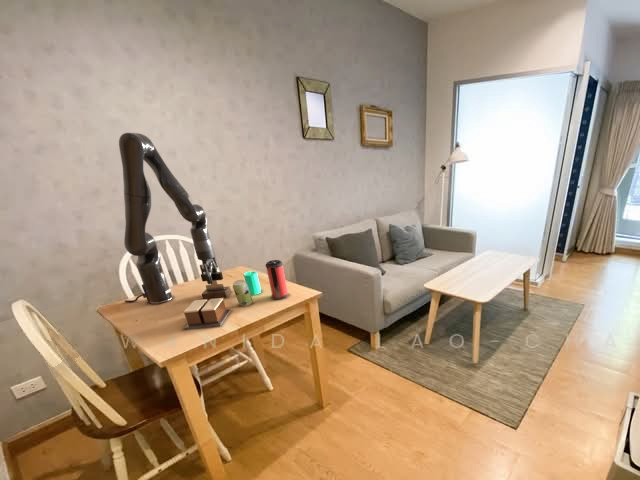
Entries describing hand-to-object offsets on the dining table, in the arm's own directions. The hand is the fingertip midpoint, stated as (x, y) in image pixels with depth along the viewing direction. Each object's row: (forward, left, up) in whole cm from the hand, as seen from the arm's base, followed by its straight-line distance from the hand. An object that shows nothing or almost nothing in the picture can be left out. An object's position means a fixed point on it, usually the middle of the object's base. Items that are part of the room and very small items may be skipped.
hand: (213, 280), depth 163 cm
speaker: (+32, -8, -8) cm, 34 cm away
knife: (0, 0, -8) cm, 8 cm away
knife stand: (0, 0, -8) cm, 8 cm away
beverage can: (+17, -14, -8) cm, 24 cm away
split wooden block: (+5, -27, -8) cm, 29 cm away
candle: (+18, 0, -8) cm, 20 cm away
